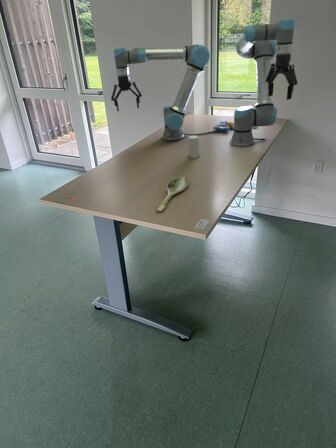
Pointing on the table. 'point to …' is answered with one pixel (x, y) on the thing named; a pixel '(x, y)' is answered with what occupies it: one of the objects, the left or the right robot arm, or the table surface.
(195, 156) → the canister
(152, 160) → the table surface
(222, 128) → the spray gun
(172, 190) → the spoon
